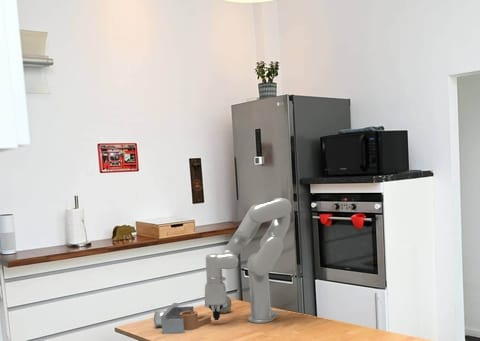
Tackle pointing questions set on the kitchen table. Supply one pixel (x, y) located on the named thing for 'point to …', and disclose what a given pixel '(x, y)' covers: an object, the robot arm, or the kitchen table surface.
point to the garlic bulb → (228, 307)
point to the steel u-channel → (171, 319)
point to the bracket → (194, 319)
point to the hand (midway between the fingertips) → (216, 319)
